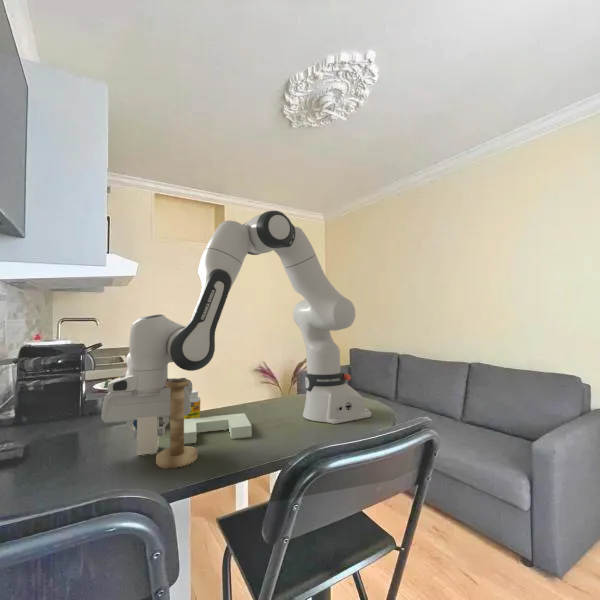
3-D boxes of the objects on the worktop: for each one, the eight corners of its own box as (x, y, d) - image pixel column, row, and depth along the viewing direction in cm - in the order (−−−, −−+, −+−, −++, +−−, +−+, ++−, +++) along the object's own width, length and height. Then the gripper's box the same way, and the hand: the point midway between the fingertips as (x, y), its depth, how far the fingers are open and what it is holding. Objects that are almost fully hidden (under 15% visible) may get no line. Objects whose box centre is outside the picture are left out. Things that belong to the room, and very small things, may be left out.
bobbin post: (197, 450, 85) (197, 376, 86) (197, 465, 77) (197, 383, 78) (157, 455, 83) (158, 379, 84) (154, 471, 74) (154, 386, 75)
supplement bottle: (182, 429, 102) (183, 394, 102) (179, 424, 106) (179, 390, 107) (202, 426, 104) (202, 392, 105) (197, 421, 109) (198, 388, 110)
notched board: (244, 423, 107) (244, 413, 107) (251, 436, 95) (251, 425, 95) (176, 430, 101) (176, 419, 101) (174, 446, 89) (174, 434, 89)
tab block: (158, 447, 88) (158, 411, 89) (157, 453, 84) (157, 416, 84) (139, 449, 87) (139, 413, 87) (136, 456, 82) (137, 417, 83)
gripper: (192, 375, 92) (192, 427, 92) (106, 380, 86) (105, 437, 85) (192, 379, 86) (192, 435, 86) (100, 385, 80) (99, 446, 79)
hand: (148, 436), depth 85 cm, fingers open, 5 cm apart
